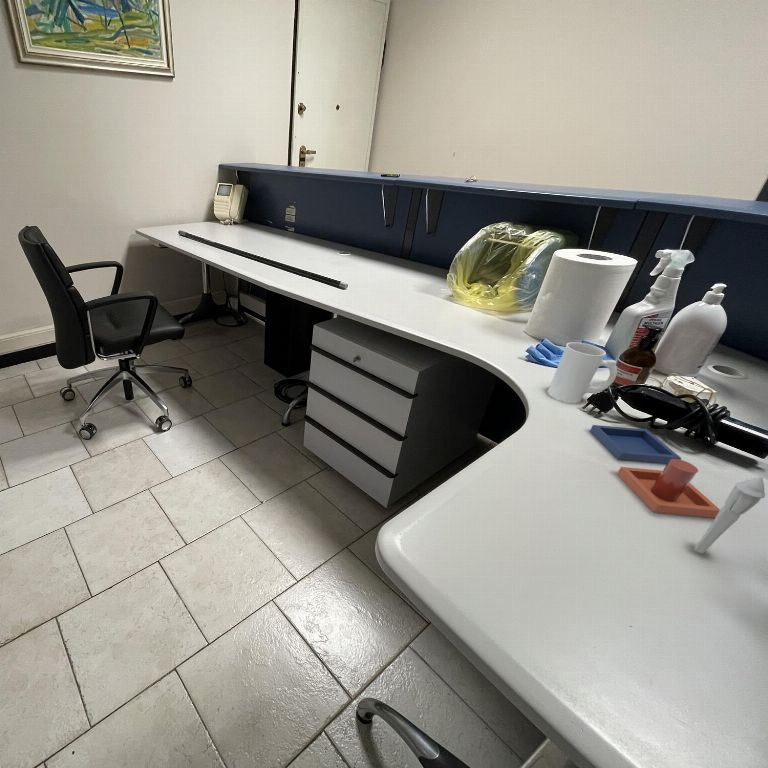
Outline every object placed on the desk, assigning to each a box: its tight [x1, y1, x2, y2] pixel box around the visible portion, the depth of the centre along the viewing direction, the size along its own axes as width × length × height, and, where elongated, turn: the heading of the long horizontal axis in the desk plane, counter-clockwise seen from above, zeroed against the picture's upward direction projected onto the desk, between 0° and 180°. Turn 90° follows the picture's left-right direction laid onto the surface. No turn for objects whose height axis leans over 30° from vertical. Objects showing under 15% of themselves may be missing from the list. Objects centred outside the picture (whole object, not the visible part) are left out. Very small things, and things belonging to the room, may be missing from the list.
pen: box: [694, 476, 766, 555], centre depth 52 cm, size 2×3×14 cm
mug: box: [547, 341, 618, 404], centre depth 88 cm, size 10×7×12 cm, turn 49°
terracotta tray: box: [616, 466, 721, 519], centre depth 64 cm, size 9×9×2 cm
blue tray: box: [589, 424, 682, 465], centre depth 75 cm, size 10×9×2 cm
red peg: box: [651, 459, 699, 502], centre depth 63 cm, size 3×3×6 cm
